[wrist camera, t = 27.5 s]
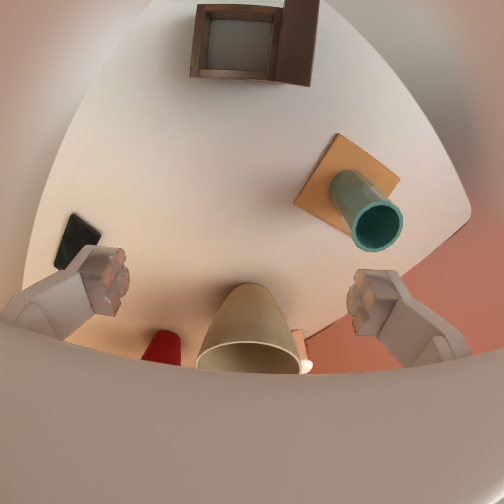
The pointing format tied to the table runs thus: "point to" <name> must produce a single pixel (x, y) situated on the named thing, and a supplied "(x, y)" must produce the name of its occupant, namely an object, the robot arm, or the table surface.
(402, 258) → the table surface
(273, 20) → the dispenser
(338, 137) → the mat
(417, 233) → the table surface
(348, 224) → the cup
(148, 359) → the plastic cup
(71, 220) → the smartphone
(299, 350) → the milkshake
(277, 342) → the plant pot
